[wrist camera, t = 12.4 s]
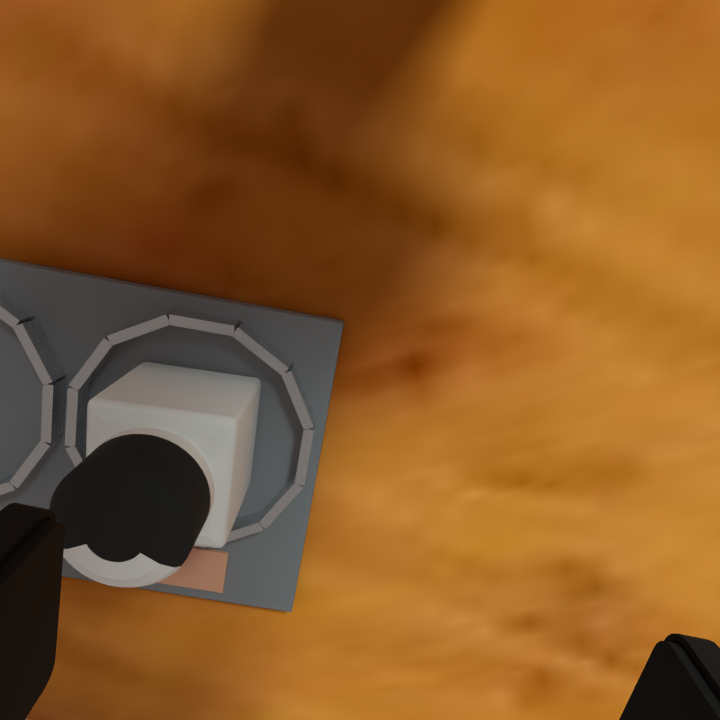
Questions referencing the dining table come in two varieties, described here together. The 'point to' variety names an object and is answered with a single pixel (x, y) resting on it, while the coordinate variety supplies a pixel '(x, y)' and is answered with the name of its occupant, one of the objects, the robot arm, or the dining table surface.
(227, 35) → the dining table surface
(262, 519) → the steel rings
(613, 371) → the dining table surface
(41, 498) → the socket board
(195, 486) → the medicine bottle
